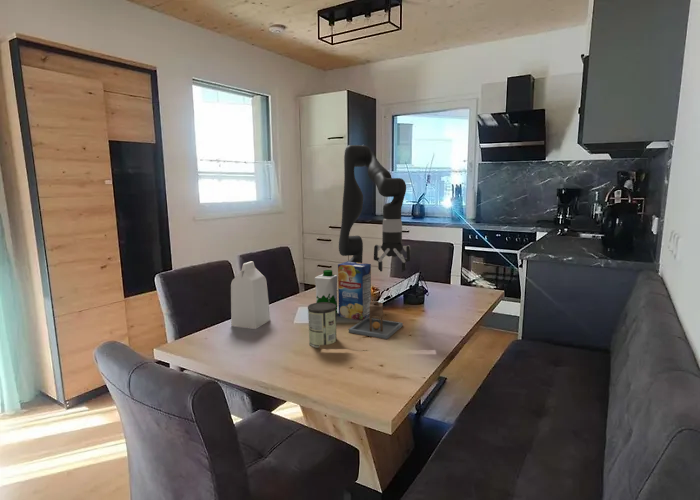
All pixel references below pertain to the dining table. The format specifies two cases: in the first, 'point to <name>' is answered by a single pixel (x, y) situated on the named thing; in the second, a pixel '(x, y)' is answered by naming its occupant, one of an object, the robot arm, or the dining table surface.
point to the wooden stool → (376, 313)
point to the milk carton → (326, 288)
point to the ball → (376, 325)
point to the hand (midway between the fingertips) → (392, 271)
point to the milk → (249, 298)
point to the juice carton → (354, 290)
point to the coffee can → (322, 323)
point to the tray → (364, 329)
